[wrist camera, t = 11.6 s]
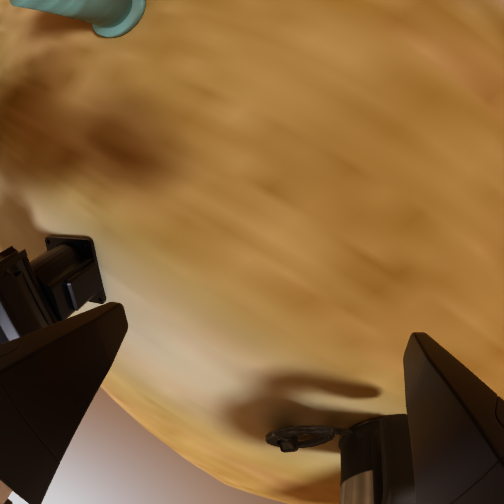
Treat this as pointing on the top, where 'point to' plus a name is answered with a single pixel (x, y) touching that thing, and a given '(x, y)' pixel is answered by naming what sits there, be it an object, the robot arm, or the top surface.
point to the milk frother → (364, 458)
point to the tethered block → (94, 13)
